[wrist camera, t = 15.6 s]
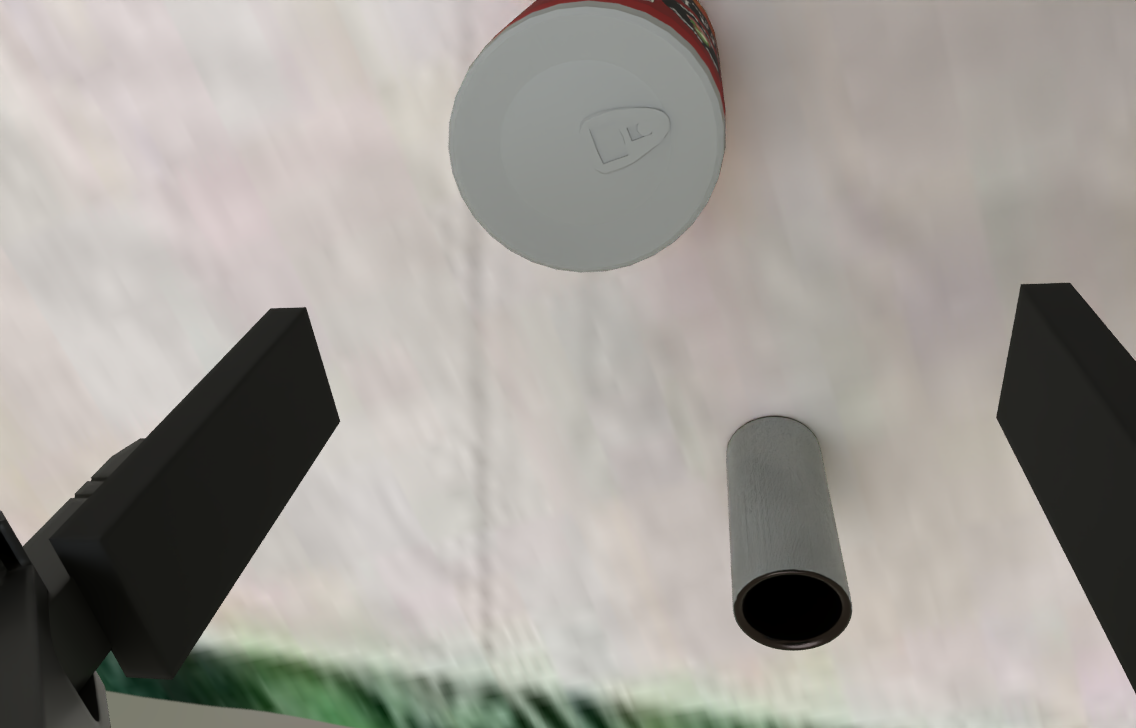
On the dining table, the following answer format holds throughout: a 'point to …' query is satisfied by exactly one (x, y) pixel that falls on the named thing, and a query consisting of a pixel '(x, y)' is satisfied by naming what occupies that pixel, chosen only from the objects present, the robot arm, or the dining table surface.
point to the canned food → (591, 130)
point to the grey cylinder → (784, 538)
